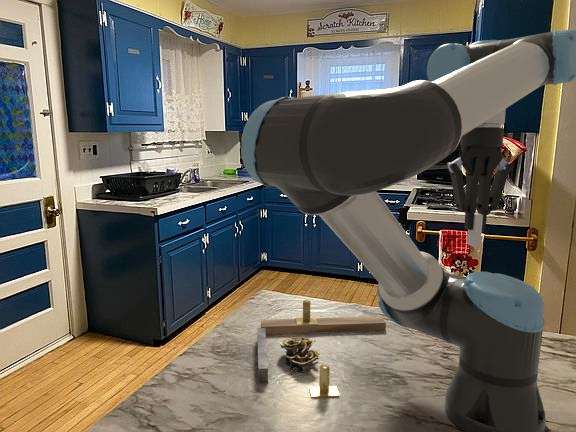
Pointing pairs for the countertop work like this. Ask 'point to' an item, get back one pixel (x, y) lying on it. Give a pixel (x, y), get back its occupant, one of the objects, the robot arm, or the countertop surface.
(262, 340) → the end stop
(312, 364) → the mushroom
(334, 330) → the beam plank
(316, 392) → the near post
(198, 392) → the countertop surface
